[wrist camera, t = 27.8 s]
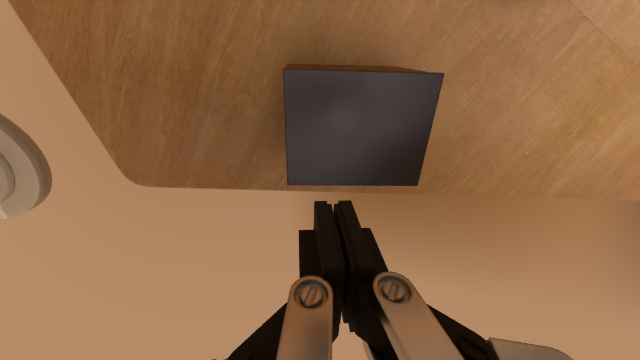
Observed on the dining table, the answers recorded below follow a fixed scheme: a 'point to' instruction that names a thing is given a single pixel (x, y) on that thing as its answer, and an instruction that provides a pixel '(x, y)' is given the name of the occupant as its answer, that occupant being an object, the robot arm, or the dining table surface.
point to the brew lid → (358, 125)
